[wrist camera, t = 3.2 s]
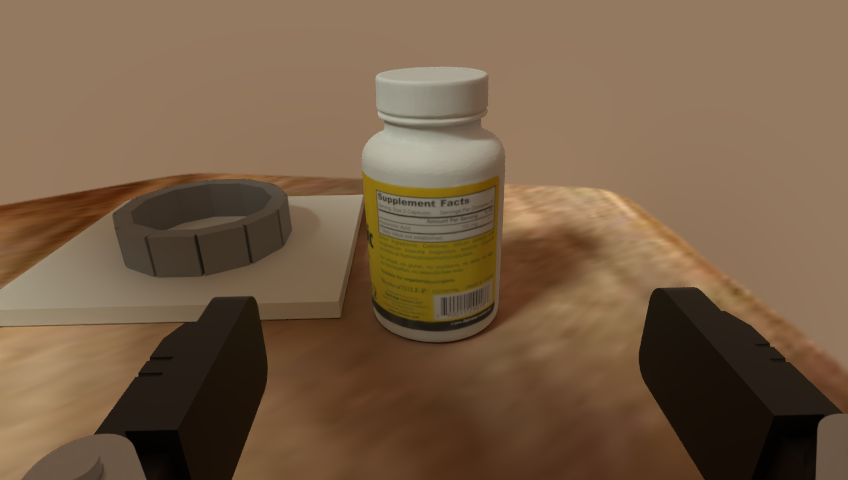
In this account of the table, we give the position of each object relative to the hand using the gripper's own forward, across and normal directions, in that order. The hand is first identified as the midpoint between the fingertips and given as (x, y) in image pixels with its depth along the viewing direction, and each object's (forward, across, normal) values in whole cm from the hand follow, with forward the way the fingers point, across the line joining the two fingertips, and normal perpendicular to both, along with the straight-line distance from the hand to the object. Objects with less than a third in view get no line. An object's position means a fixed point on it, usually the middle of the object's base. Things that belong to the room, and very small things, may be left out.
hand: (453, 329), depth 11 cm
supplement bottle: (+10, 0, +6) cm, 12 cm away
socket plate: (+16, +12, +6) cm, 21 cm away
